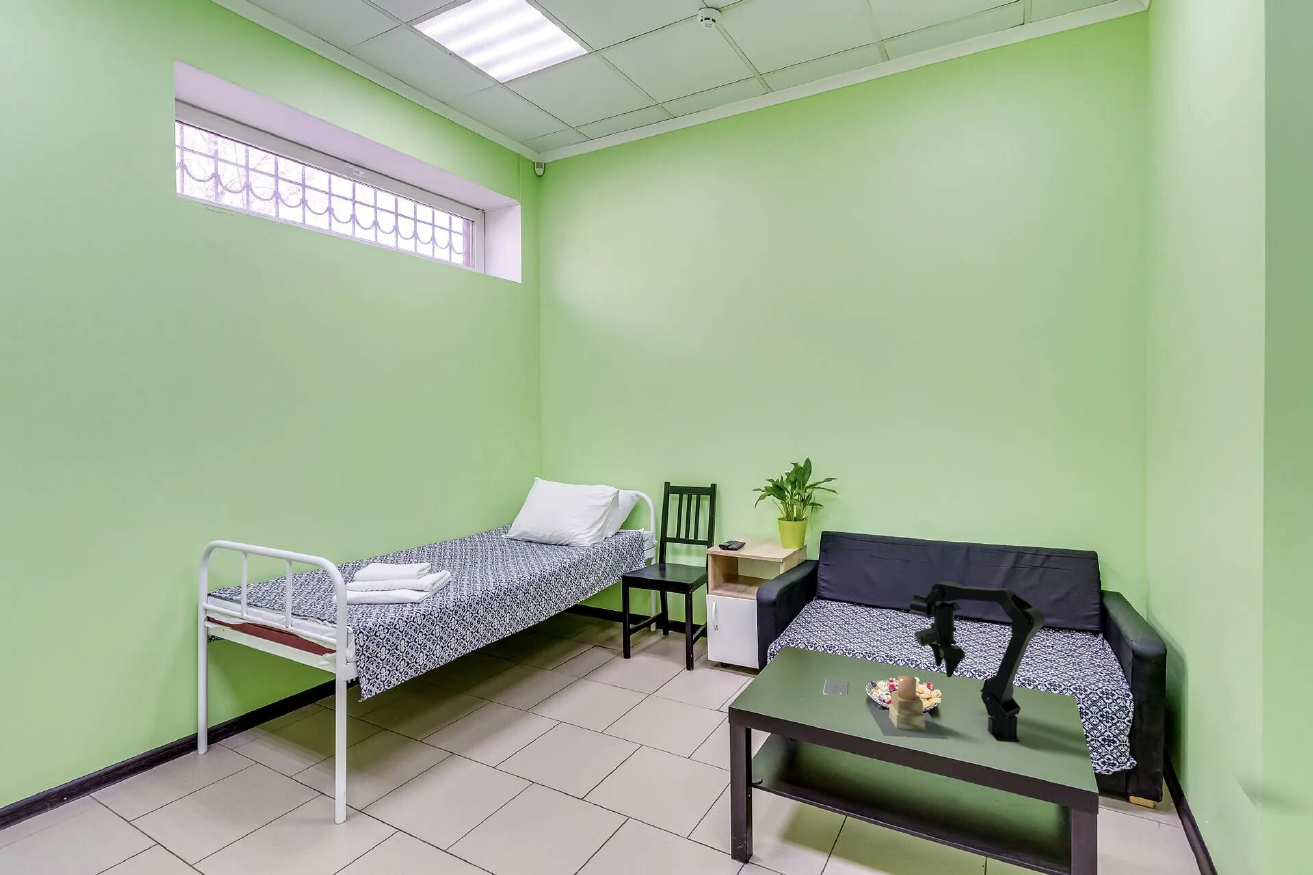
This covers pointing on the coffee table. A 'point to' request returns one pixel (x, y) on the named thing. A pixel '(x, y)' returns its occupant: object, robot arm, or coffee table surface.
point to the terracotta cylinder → (907, 687)
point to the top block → (907, 705)
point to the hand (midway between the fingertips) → (943, 671)
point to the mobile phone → (835, 687)
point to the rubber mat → (890, 730)
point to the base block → (906, 720)
